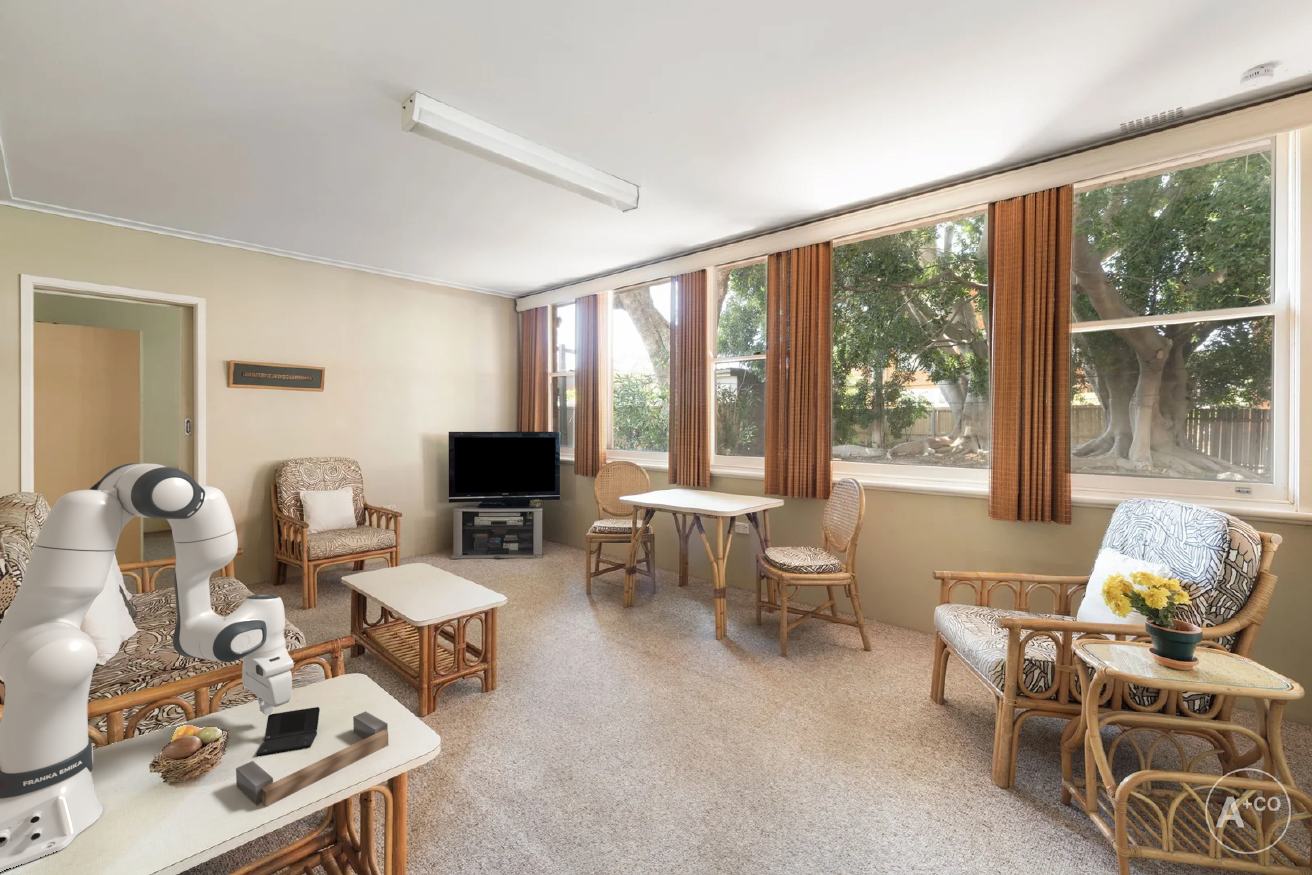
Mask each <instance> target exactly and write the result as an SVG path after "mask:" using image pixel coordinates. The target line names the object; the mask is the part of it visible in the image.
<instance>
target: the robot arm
mask: <svg viewBox="0 0 1312 875" xmlns="http://www.w3.org/2000/svg"><path fill="white" fill-rule="evenodd" d="M56 500H57V501H56V502H55V503H54V505H53V507H51V509H50V511H49V513H48V515H47V517H46V518H45V520H44V522H43V524H42V526H41V528H40V530H39V533H38V536H37V537H36V540H35V543H34V546H33V548H32V552H31V554H30V557H29V560H28V563H27V566H26V567H25V568H26V569H25V572H24V575H23V577H22V581H21V583H20V585H19V588H18V590H17V592H16V594H15V597H14V598H13V600H12V602H11V603H10V605H9V607H8V609H7V611H6V612H5V614H4V615H3V618H2V619H1V622H0V677H1V678H2V680H3V684H4V689H5V690H4V691H5V692H4V703H3V710H2V715H1V719H0V871H3V870H6V869H9V868H11V869H14V868H16V866H17V867H18V865H19V866H22V865H25V864H27V863H29V862H33V861H35V860H39V859H40V857H41V858H43V857H46V856H48V854H49V855H51V854H54V853H57V852H60V851H61V850H63V849H65V848H66V847H68V846H69V845H70V844H71V842H72V841H73V840H74V839H75V838H76V837H77V836H78V835H79V834H81V833H82V832H83V831H85V830H86V829H88V827H90V826H91V825H92V824H93V823H95V822H96V821H98V818H100V816H101V815H102V813H103V811H104V805H103V803H102V802H101V800H100V799H99V796H98V794H97V790H96V788H95V787H96V786H95V784H94V780H93V774H92V771H93V770H94V769H93V765H94V748H93V747H94V746H93V744H92V741H91V740H90V738H89V722H88V721H89V718H88V716H89V714H88V701H89V694H90V688H91V684H92V679H93V674H94V669H96V665H97V663H98V658H99V655H98V649H97V646H96V644H95V641H94V640H93V638H92V637H91V636H90V635H89V634H87V633H86V632H84V631H82V630H81V627H82V623H83V621H84V619H85V616H86V615H87V613H88V611H89V609H90V608H91V606H92V604H93V603H94V601H95V600H96V598H97V597H99V595H100V594H102V592H103V590H104V588H105V585H106V582H107V579H108V575H109V573H110V569H111V566H112V563H113V559H114V556H115V553H116V550H117V546H118V543H119V538H120V535H121V533H122V532H123V530H124V528H125V527H126V525H128V523H129V522H130V521H131V520H133V519H134V518H136V517H140V518H145V519H146V518H147V519H154V520H166V521H167V522H168V524H169V525H170V528H171V532H172V539H173V544H174V550H175V559H176V560H175V564H174V570H173V581H174V582H173V583H174V584H173V585H174V593H175V594H174V597H175V608H176V609H175V610H176V624H175V629H174V631H173V635H172V636H173V637H172V645H173V649H174V650H175V652H176V653H178V655H180V656H181V657H183V658H191V659H202V660H207V661H213V662H220V663H233V662H235V661H238V660H241V659H242V669H241V683H242V686H243V687H245V688H246V689H247V690H248V691H250V692H251V693H253V694H254V695H256V698H257V701H258V704H259V712H261V713H262V714H263V715H265V716H268V715H270V714H273V709H274V708H277V707H280V706H282V705H285V704H288V703H289V702H290V701H291V699H292V694H293V692H292V691H293V676H292V675H293V674H292V671H291V670H292V669H294V665H295V664H294V660H293V659H292V658H291V656H290V654H289V652H288V649H287V648H286V647H287V646H286V645H287V641H286V638H285V635H284V633H285V629H286V612H285V606H284V603H283V602H284V601H283V600H282V598H281V596H279V595H278V594H277V595H276V594H270V593H259V594H258V593H257V594H250V595H248V596H246V597H245V598H244V600H243V602H242V603H241V604H240V605H239V606H238V607H237V608H236V609H235V610H234V611H233V612H232V611H231V613H230V614H228V615H226V616H222V615H219V614H217V613H216V612H215V611H214V610H213V609H212V604H211V593H210V592H211V591H210V590H211V589H210V577H211V576H212V574H213V573H215V572H217V571H219V570H221V569H223V568H225V567H226V566H228V565H229V564H230V563H231V562H232V561H233V559H234V558H235V557H236V555H237V554H238V549H239V548H238V546H239V541H238V540H239V539H238V534H237V533H238V532H237V528H236V524H235V520H234V515H233V513H232V510H231V507H230V505H229V502H228V500H227V498H226V495H225V494H224V492H223V491H222V490H221V489H219V488H217V487H214V486H210V485H200V484H199V483H198V482H197V481H196V479H194V478H193V477H192V476H191V475H190V474H189V473H187V472H185V471H184V470H182V469H179V468H176V467H171V466H165V465H162V464H158V463H147V462H146V463H141V462H132V463H125V464H122V465H119V466H116V467H114V468H113V469H111V470H109V471H108V472H106V474H104V475H103V476H102V477H101V479H99V481H97V482H96V483H95V484H94V485H93V486H91V487H90V488H89V489H79V490H74V491H70V492H67V493H65V494H63V495H62V496H60V497H59V498H58V499H56ZM273 707H274V708H273ZM56 851H57V852H56ZM53 852H54V853H53ZM45 855H46V856H45ZM21 864H22V865H21ZM13 867H14V868H13ZM9 870H10V869H9ZM6 871H7V870H6ZM3 872H4V871H3Z"/></svg>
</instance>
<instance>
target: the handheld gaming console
mask: <svg viewBox="0 0 1312 875" xmlns="http://www.w3.org/2000/svg"><path fill="white" fill-rule="evenodd" d="M267 716H268V717H267V719H266V721H267V722H266V726H265V727H266V728H265V733H264V738H263V742H262V744H261V745H260V747H259V748H258V749H257V751H256V753H255V756H256V758H258V756H260V757H264V756H270V755H276V754H283V753H287V752H293V751H294V752H295V751H299V750H303V749H305V750H306V749H310V748H311V747H312V745H313V743H314V741H315V739H316V738H317V735H318V727H319V720H320V718H319V717H320V707H319V706H315V707H310V708H302V709H296V710H290V711H284V712H275V713H270V714H268V715H267Z"/></svg>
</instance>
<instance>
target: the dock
mask: <svg viewBox="0 0 1312 875" xmlns="http://www.w3.org/2000/svg"><path fill="white" fill-rule="evenodd" d="M352 718H353V724H352V725H353V733H354V734H355V735H357V736H358V737H360V738H362V739H361V740H359V741H356V742H355V743H354V744H352V745H349V746H347V747H345V748H343V749H341V750H339V751H337V752H335V753H332V754H330V755H329V756H327V757H324V758H322V759H319V760H318V761H316V762H314V763H311V764H309V765H307V766H305V767H303V768H301V769H299V770H297V771H295V772H293V773H291V774H288V775H287V776H284V777H282V778H280V779H278V780H276V781H274V777H273V776H271V775H270V774H269V773H268V772H266V771H265V770H264V769H263V768H262V767H261V766H259V764H257V763H256V762H255V761H254V760H251V761H249V762H247V763H244V764H242V765H240V766H238V767H235V777H236V778H235V780H236V782H235V783H236V789H238V790H239V791H240V792H241V793H242V794H243V795H244V796H245V797H246V798H247V799H248V800H250V802H252V803H253V805H254V806H257V807H258V806H259V805H261V804H262V805H264V806H265V807H269V806H271V805H273V804H275V803H277V802H279V801H281V800H282V799H285V798H287V797H289V796H291V795H293V794H295V793H297V792H298V791H300V790H303V789H305V788H307V787H308V786H310V785H312V784H314V783H316V782H318V781H320V780H322V779H324V778H326V777H328V776H331V775H332V774H334V773H336V772H338V771H340V770H342V769H344V768H346V767H348V766H350V765H352V764H354V763H356V762H358V761H360V760H362V759H364V758H366V757H367V756H369V755H371V754H373V753H375V752H377V751H379V750H382V749H383V748H385V747H388V746H389V730H388V729H389V728H388V726H389V725H388V723H387V722H385V721H384V720H382V719H380V718H378V717H376V716H375V715H373V714H371V713H369V712H368V711H363V712H361V713H359V714H356V715H354V716H353V717H352Z"/></svg>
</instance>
